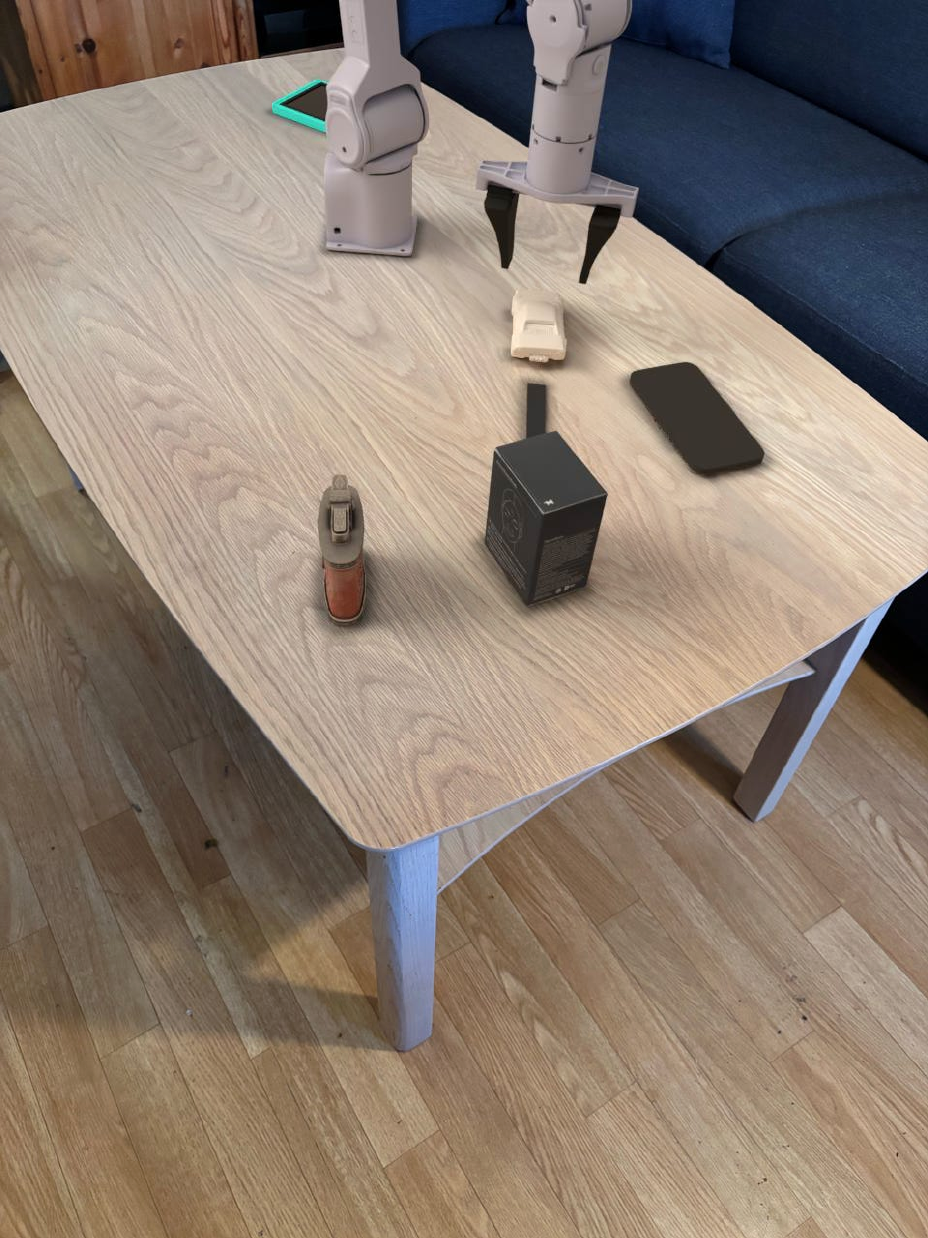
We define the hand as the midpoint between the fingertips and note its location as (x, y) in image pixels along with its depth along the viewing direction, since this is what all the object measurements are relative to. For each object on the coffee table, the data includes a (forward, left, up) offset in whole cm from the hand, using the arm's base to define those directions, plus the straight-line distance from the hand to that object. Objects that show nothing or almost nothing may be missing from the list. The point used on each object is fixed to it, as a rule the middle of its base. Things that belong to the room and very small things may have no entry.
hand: (545, 270), depth 94 cm
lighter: (-15, -36, -7) cm, 40 cm away
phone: (+15, -12, -7) cm, 21 cm away
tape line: (0, -16, -7) cm, 17 cm away
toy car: (0, -1, -7) cm, 7 cm away
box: (0, -32, -7) cm, 33 cm away
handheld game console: (-26, +44, -7) cm, 52 cm away
